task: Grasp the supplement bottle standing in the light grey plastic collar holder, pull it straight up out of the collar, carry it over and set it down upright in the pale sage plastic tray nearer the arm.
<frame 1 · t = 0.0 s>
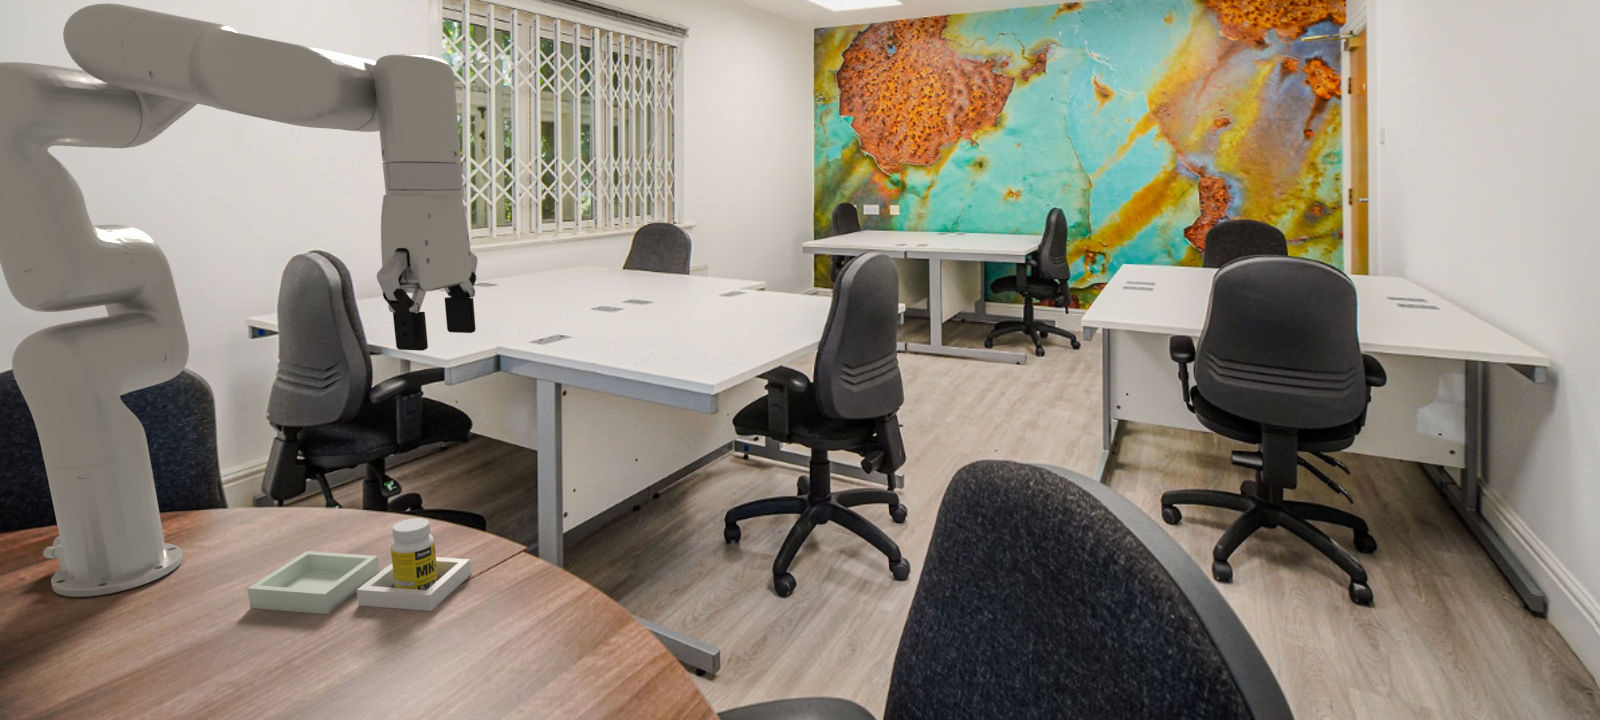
hand: (438, 340, 90), 31 cm above the table, fingers open, 9 cm apart
collar holder: (417, 589, 99), on the table
supplement bottle: (417, 590, 99), resting in collar holder
tray: (317, 590, 98), on the table
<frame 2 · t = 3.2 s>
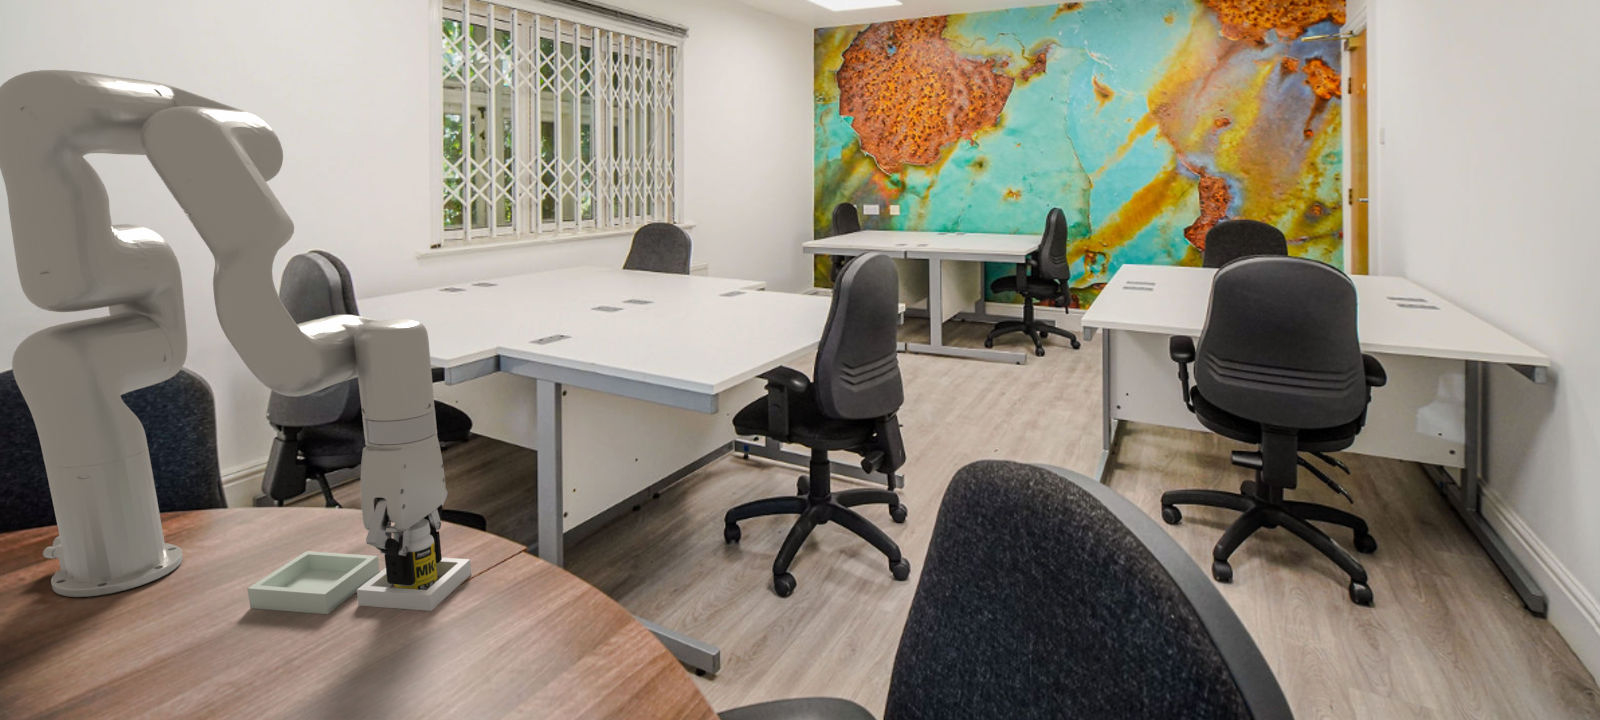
hand: (415, 570, 98), 2 cm above the table, fingers closed on supplement bottle, 4 cm apart
supplement bottle: (417, 590, 99), resting in collar holder, touching gripper
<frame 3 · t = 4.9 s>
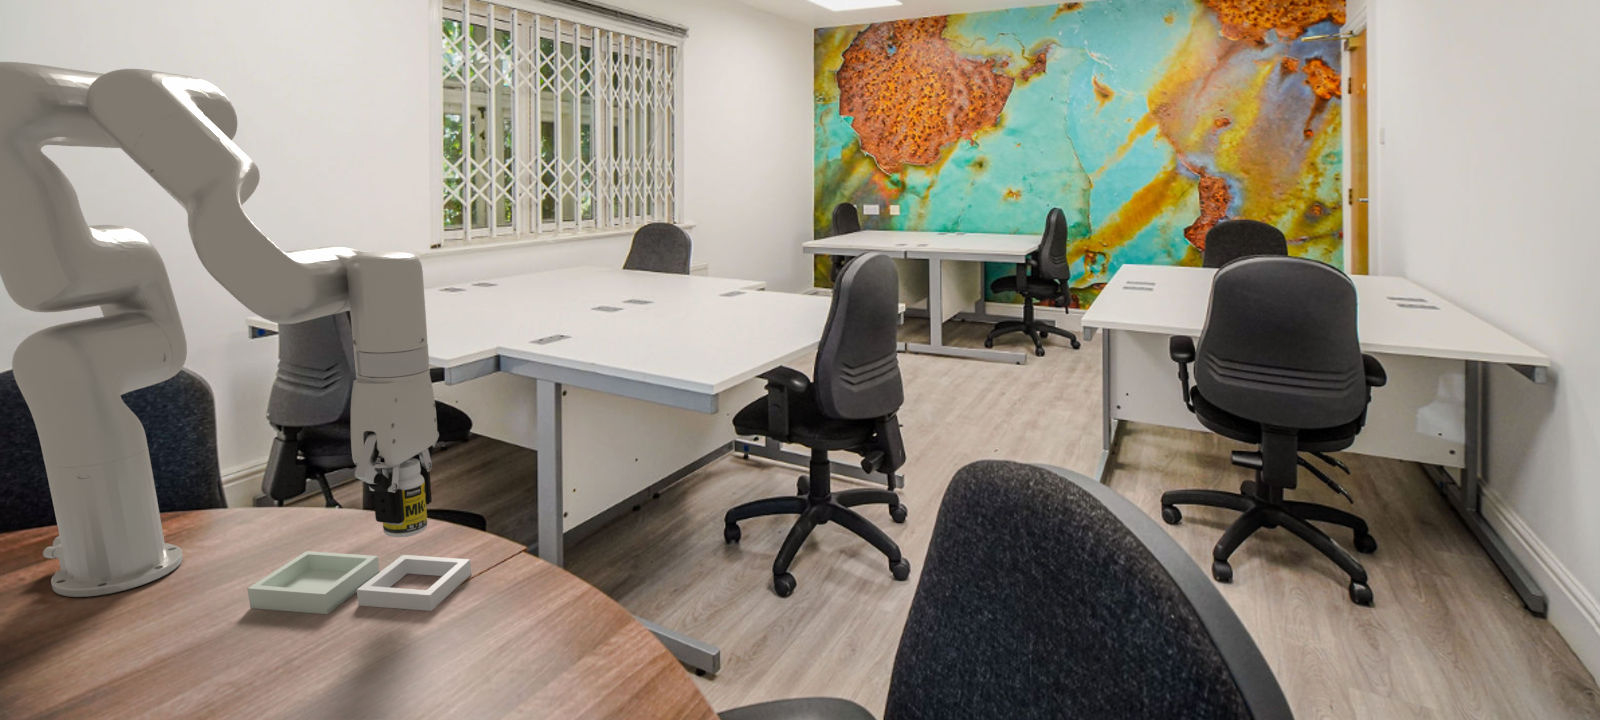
hand: (404, 510, 97), 10 cm above the table, fingers closed on supplement bottle, 4 cm apart
supplement bottle: (406, 531, 97), point 7 cm above the table, touching gripper
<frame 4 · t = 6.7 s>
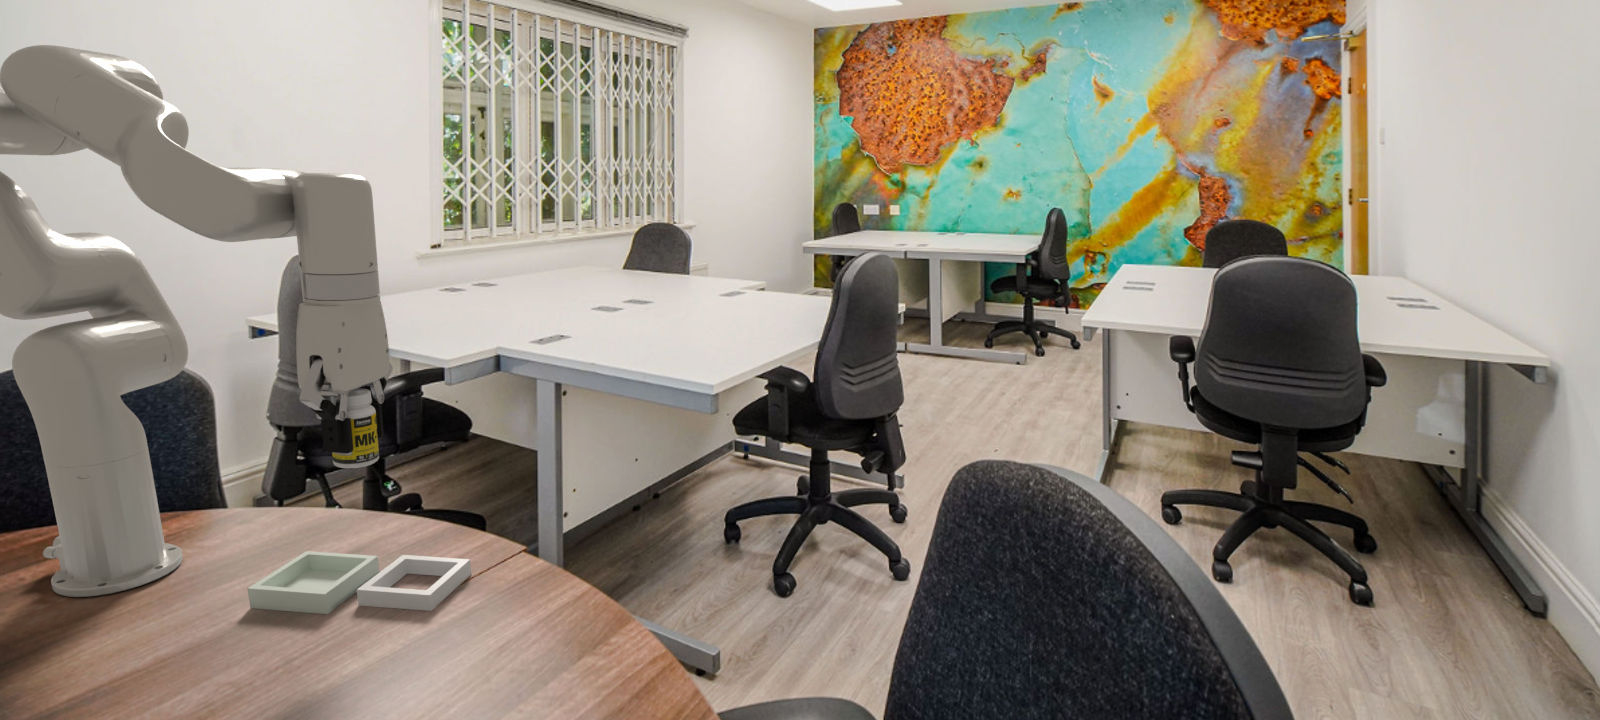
hand: (354, 442, 94), 19 cm above the table, fingers closed on supplement bottle, 4 cm apart
supplement bottle: (356, 463, 95), point 16 cm above the table, touching gripper
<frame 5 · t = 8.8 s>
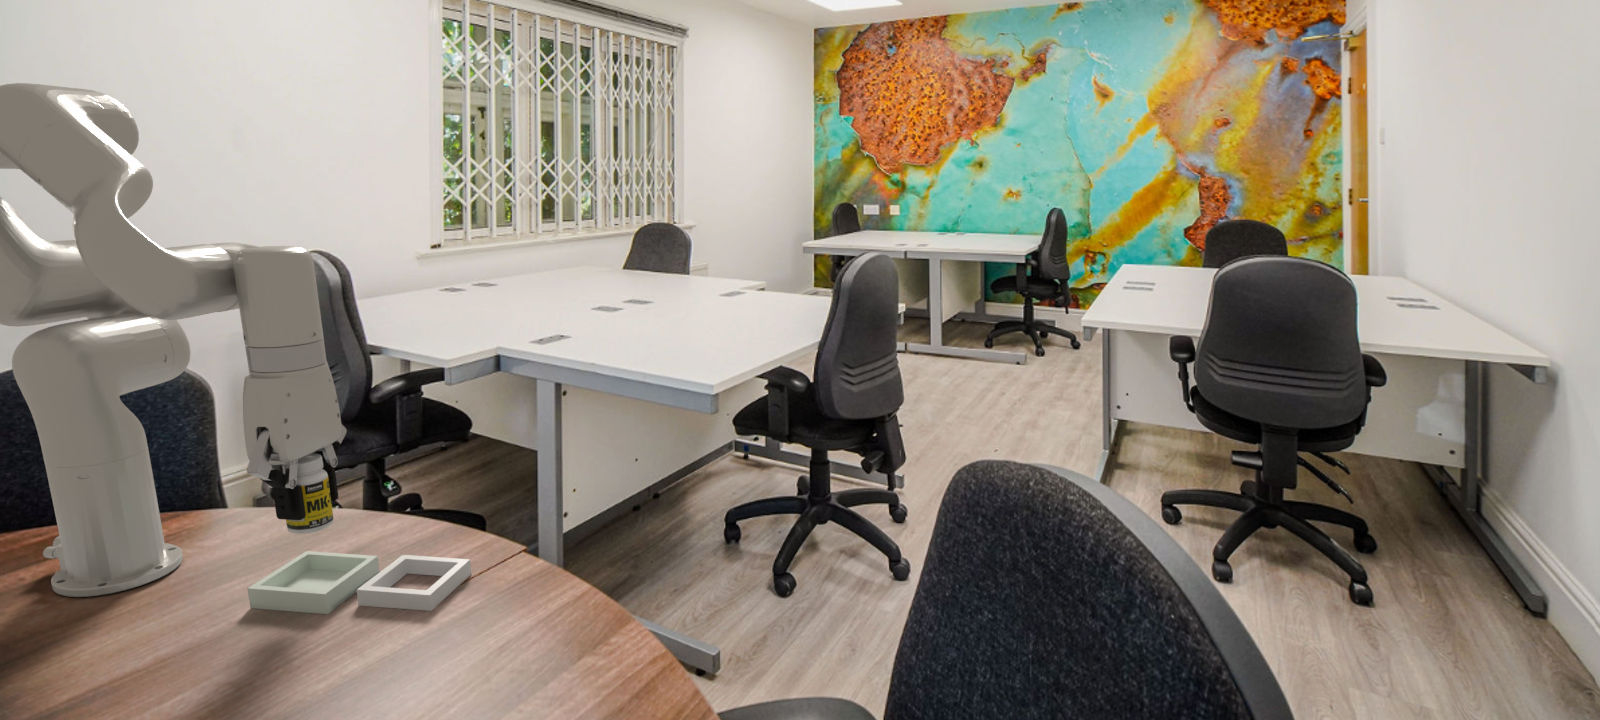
hand: (308, 507, 96), 11 cm above the table, fingers closed on supplement bottle, 4 cm apart
supplement bottle: (311, 527, 96), point 8 cm above the table, touching gripper
when the fingers open (4 cm above the table, at t = 10.4 s): supplement bottle drops 1 cm, resting on tray.
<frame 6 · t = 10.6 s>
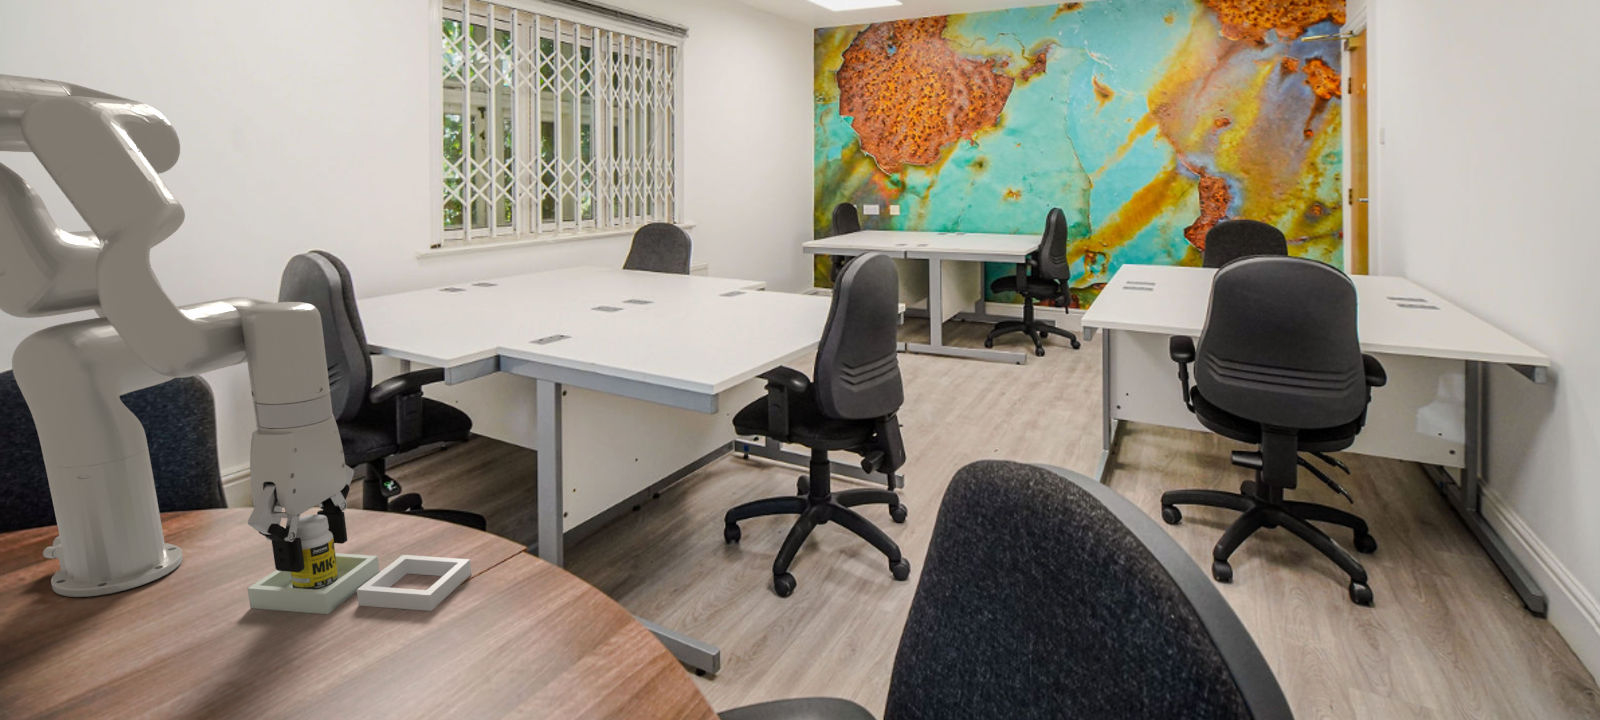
hand: (313, 554, 97), 5 cm above the table, fingers open, 6 cm apart
supplement bottle: (316, 587, 98), resting on tray
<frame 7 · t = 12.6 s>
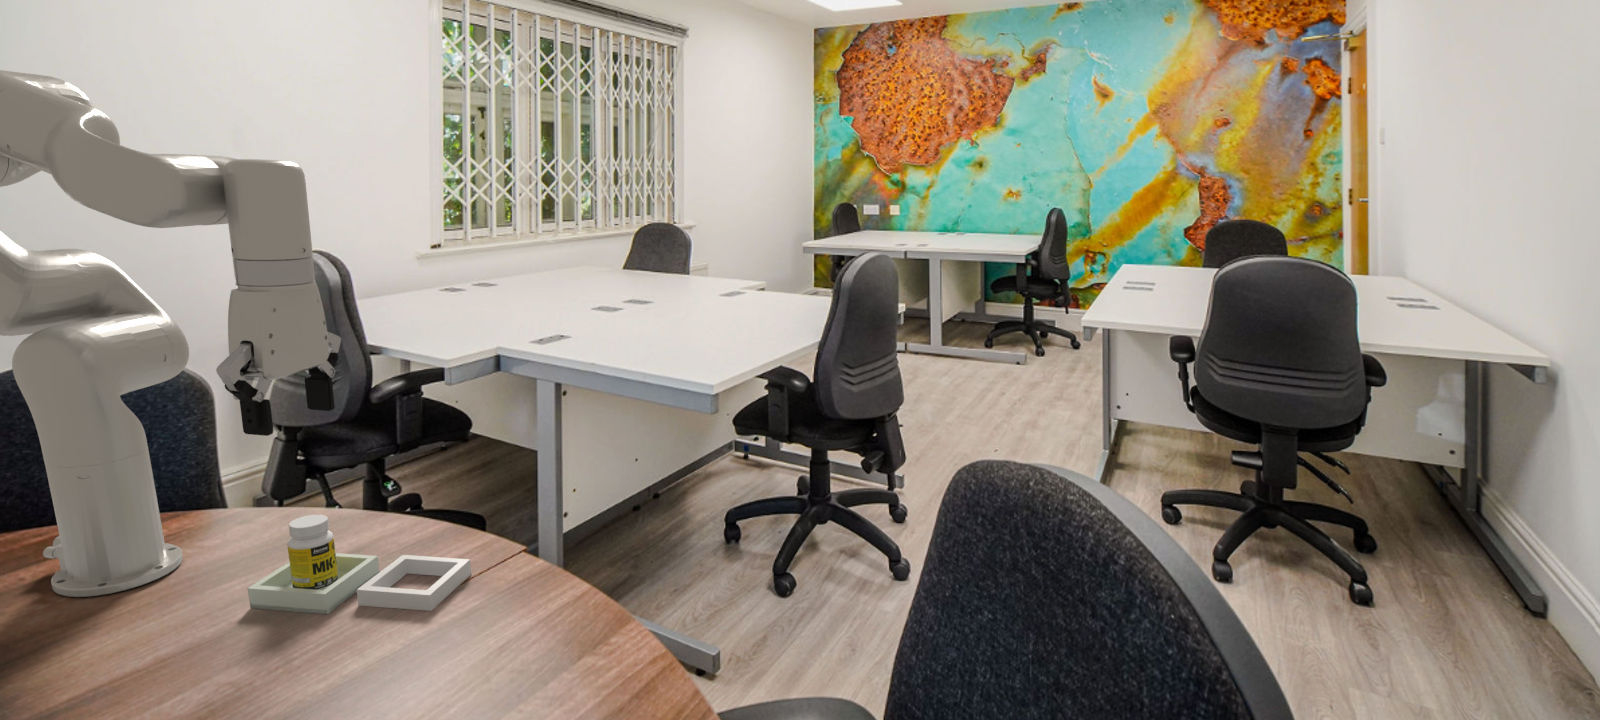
hand: (291, 421, 95), 21 cm above the table, fingers open, 9 cm apart
nothing on the table moved.
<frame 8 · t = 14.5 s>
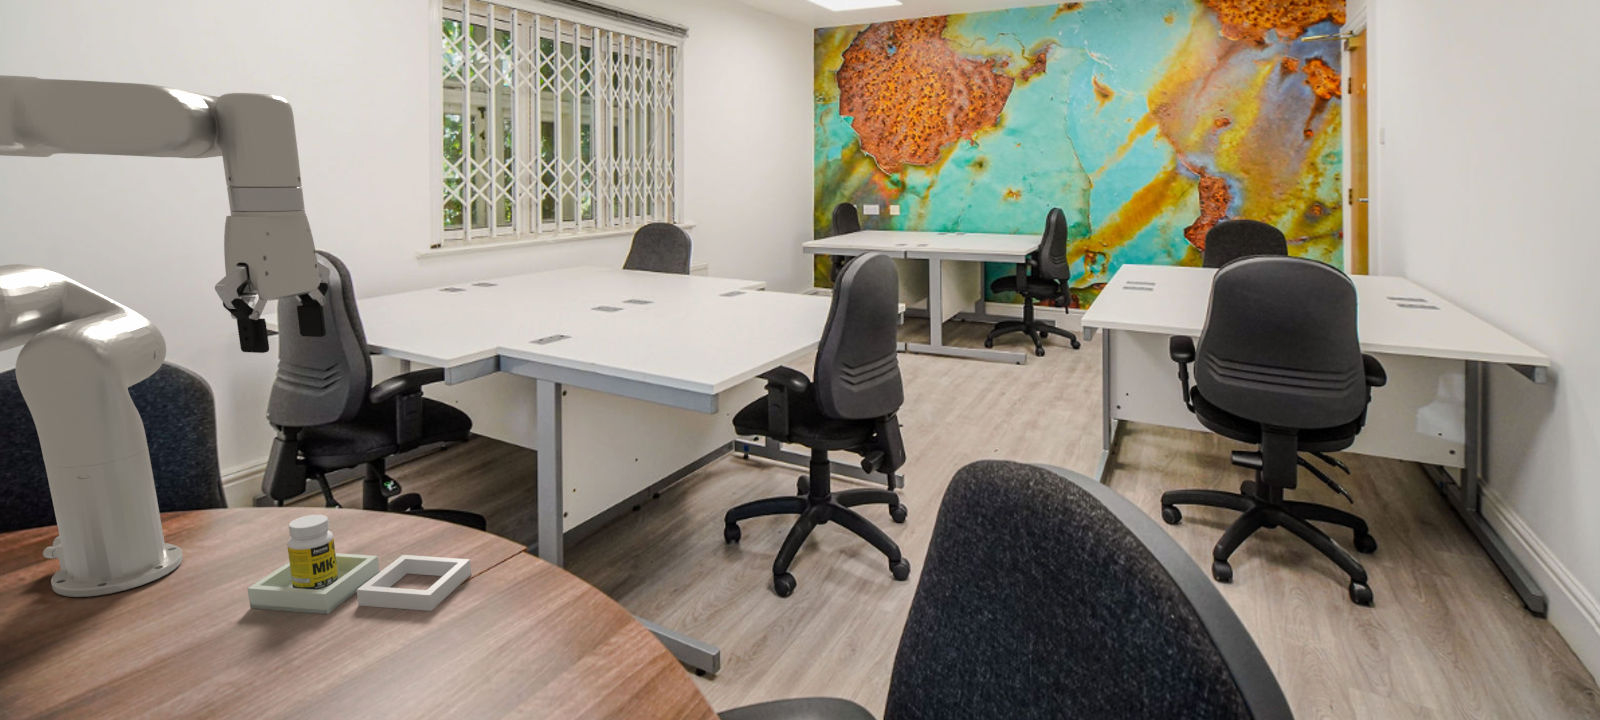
hand: (285, 343, 101), 28 cm above the table, fingers open, 9 cm apart
nothing on the table moved.
at the end: supplement bottle 0.2 cm off-centre on the tray, point 0.3 cm above the tray's base; supplement bottle tilted 0°; the gripper is holding nothing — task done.
